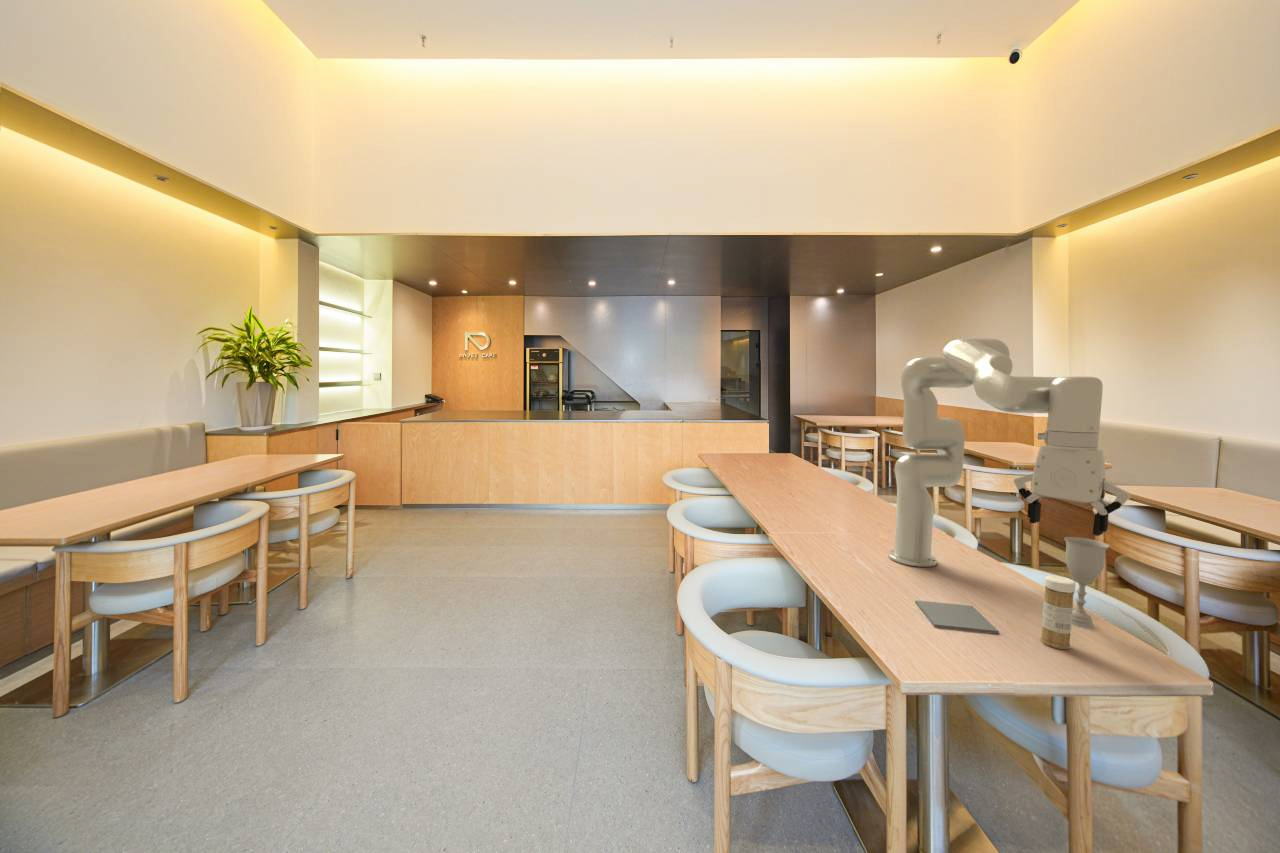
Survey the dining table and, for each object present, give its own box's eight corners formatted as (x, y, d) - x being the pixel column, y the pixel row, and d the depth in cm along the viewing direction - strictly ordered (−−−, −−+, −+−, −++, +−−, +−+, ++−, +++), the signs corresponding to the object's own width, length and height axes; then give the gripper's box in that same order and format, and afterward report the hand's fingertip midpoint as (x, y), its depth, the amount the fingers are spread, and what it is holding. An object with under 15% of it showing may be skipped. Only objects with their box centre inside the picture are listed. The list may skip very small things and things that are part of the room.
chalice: (1050, 617, 107) (1056, 538, 106) (1067, 612, 110) (1074, 535, 109) (1091, 633, 101) (1098, 549, 99) (1108, 627, 103) (1116, 545, 102)
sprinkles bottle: (1067, 642, 97) (1073, 577, 96) (1072, 652, 93) (1078, 585, 92) (1038, 636, 99) (1043, 572, 98) (1041, 645, 95) (1047, 579, 94)
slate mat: (915, 602, 114) (915, 600, 114) (972, 608, 112) (972, 605, 112) (934, 627, 102) (934, 624, 102) (998, 633, 100) (998, 631, 100)
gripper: (1010, 438, 98) (1004, 520, 99) (1128, 446, 84) (1120, 543, 85) (1025, 436, 102) (1019, 515, 103) (1140, 444, 88) (1132, 536, 89)
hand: (1065, 528), depth 94 cm, fingers open, 9 cm apart
